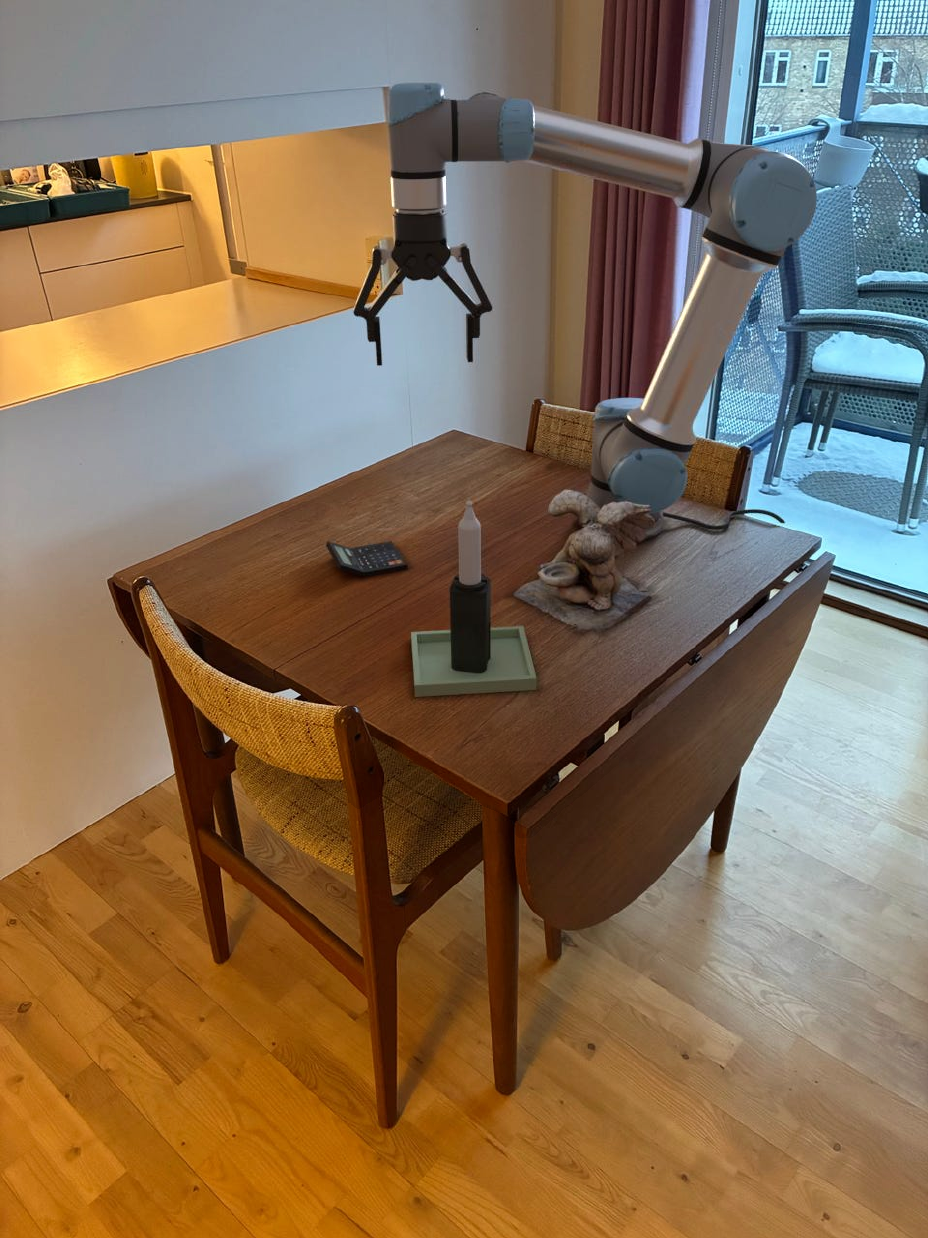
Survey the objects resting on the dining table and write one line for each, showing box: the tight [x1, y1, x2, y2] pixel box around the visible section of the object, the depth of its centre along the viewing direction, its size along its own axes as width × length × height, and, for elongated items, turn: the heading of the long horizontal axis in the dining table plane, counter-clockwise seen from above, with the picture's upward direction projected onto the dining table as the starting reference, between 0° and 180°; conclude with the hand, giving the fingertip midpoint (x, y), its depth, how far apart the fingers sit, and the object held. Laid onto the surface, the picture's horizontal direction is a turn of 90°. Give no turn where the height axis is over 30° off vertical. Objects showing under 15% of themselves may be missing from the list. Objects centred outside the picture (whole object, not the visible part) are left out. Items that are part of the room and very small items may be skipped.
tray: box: [410, 625, 538, 698], centre depth 136 cm, size 17×14×2 cm
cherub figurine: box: [512, 489, 655, 634], centre depth 148 cm, size 18×18×18 cm
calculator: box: [325, 540, 409, 578], centre depth 163 cm, size 9×12×3 cm
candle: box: [448, 500, 492, 673], centre depth 130 cm, size 5×5×25 cm
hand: (424, 361), depth 145 cm, fingers open, 13 cm apart
